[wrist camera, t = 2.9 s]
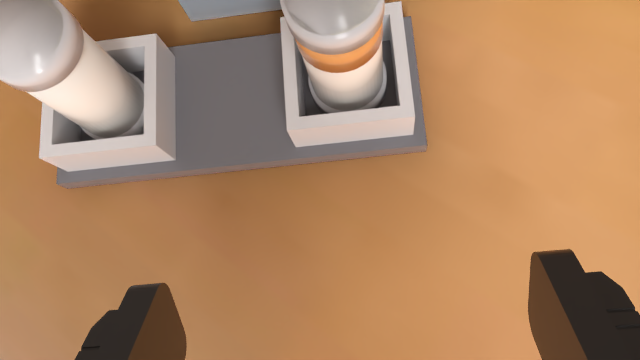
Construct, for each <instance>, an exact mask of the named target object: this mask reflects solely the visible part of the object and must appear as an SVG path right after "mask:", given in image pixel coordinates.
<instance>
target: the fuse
mask: <svg viewBox="0 0 640 360" xmlns="http://www.w3.org/2000/svg"><path fill="white" fill-rule="evenodd" d="M0 80H1V81H3V82H4V83H6V84H7V85H9V86H11V87H13V88H14V89H17V90H20V91H24V92H27V93H29V94H30V95H32V96H33V97H35V98H37V99H38V100H40V101H41V102H43V103H44V104H46V105H48V106H49V107H51V108H52V109H54V110H55V111H57V112H59V113H60V114H62V115H63V116H65V117H66V118H68V119H70V120H71V121H73V122H74V123H76V124H77V125H79V126H80V127H81V128H82V130H83V131H84V132H85V133H86V134H88V135H89V136H91V137H92V138H94V139H95V140H99V139H107V138H116V137H125V136H134V135H143V134H144V83H142V82H141V81H140V80H139V79H138V78H137V77H136V76H135V75H133V74H131V73H129V72H127V71H126V70H125V69H124V68H123V67H122V66H120V65H119V64H118V63H117V62H116V61H115V60H114V59H113V58H112V57H111V56H110V55H109V54H108V53H107V52H106V51H105V50H104V49H103V48H102V47H101V46H100V45H98V44H97V43H96V42H95V41H94V40H93V39H92V38H91V37H90V36H89V35H88V34H87V33H86V32H85V31H84V30H83V29H82V28H81V25H80V23H79V22H78V20H77V19H76V18H75V17H74V16H73V15H72V14H71V13H70V12H69V11H68V10H67V9H66V8H65V7H64V6H63V5H62V4H61V3H60V2H59V1H58V0H0Z"/></svg>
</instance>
